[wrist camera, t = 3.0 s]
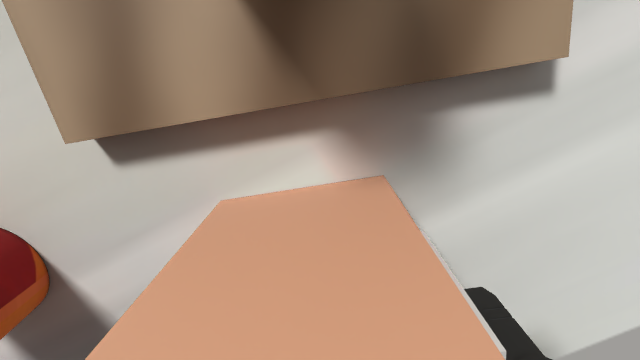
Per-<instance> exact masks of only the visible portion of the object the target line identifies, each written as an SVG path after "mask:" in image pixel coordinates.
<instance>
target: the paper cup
mask: <svg viewBox="0 0 640 360" xmlns="http://www.w3.org/2000/svg"><path fill="white" fill-rule="evenodd" d="M48 289H49V275H48V271H47V268H46V266H45V264H44V262H43V260H42V259H41V257H40V256H39V254H38V253H37V252H36V251H35V250H34V249H33V248H32V247H31V246H30V245H29V244H28V243H27V242H25V241H24V240H23V239H21V238H20V237H18V236H17V235H15V234H13V233H11V232H9V231H7V230H4V229H2V228H0V340H1V339H2V338H3V337H4V336H5V335H6V334H8V333H9V332H10V331H11V330H12V329H13V328H14V327H15V326H16V325H17V324H19V323H20V322H21V321H22V320H23V319H24V318H25V317H26V316H27V315H29V314H30V313H31V312H32V311H33V310H34V309H35V308H36V307H37V306H38V305H39V304H40V303H41V302H42V301H43V299H44V298H45V297H46V295H47V293H48Z"/></svg>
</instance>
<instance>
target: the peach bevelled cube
mask: <svg viewBox="0 0 640 360" xmlns="http://www.w3.org/2000/svg"><path fill="white" fill-rule="evenodd" d="M85 360H505V359H504V357H503V356H502V354H501V353H500V351H499V350H498V348H497V347H496V345H495V343H494V342H493V340H492V339H491V337H490V336H489V334H488V333H487V331H486V330H485V328H484V327H483V325H482V324H481V322H480V321H479V319H478V318H477V316H476V315H475V313H474V312H473V310H472V309H471V307H470V306H469V304H468V303H467V301H466V300H465V298H464V297H463V295H462V294H461V292H460V291H459V289H458V287H457V286H456V284H455V283H454V281H453V280H452V278H451V277H450V275H449V274H448V272H447V271H446V269H445V268H444V266H443V265H442V263H441V262H440V260H439V259H438V257H437V256H436V254H435V253H434V251H433V250H432V248H431V247H430V245H429V244H428V242H427V241H426V239H425V238H424V236H423V234H422V233H421V231H420V230H419V228H418V227H417V225H416V224H415V222H414V221H413V219H412V218H411V216H410V215H409V213H408V212H407V210H406V209H405V207H404V206H403V204H402V203H401V201H400V200H399V198H398V197H397V195H396V194H395V192H394V191H393V189H392V188H391V186H390V185H389V183H388V182H387V180H386V178H385V177H384V175H382V176H376V177H369V178H363V179H357V180H350V181H344V182H338V183H331V184H325V185H318V186H312V187H306V188H299V189H293V190H286V191H280V192H274V193H267V194H261V195H254V196H248V197H242V198H235V199H229V200H223V201H220V202H219V203H218V205H217V206H216V207H215V208H214V209H213V210H212V212H211V213H210V214H209V215H208V216H207V217H206V219H205V220H204V221H203V222H202V223H201V224H200V226H199V227H198V228H197V229H196V230H195V231H194V233H193V234H192V235H191V236H190V237H189V238H188V240H187V241H186V242H185V243H184V244H183V245H182V247H181V248H180V249H179V250H178V251H177V253H176V254H175V255H174V256H173V257H172V258H171V260H170V261H169V262H168V263H167V264H166V265H165V267H164V268H163V269H162V270H161V271H160V272H159V274H158V275H157V276H156V277H155V278H154V279H153V281H152V282H151V283H150V284H149V285H148V286H147V288H146V289H145V290H144V291H143V292H142V293H141V295H140V296H139V297H138V298H137V299H136V300H135V302H134V303H133V304H132V305H131V306H130V307H129V309H128V310H127V311H126V312H125V313H124V314H123V316H122V317H121V318H120V319H119V320H118V321H117V323H116V324H115V325H114V326H113V327H112V328H111V330H110V331H109V332H108V333H107V334H106V335H105V337H104V338H103V339H102V340H101V341H100V342H99V344H98V345H97V346H96V347H95V348H94V349H93V351H92V352H91V353H90V354H89V355H88V356H87V358H86V359H85Z"/></svg>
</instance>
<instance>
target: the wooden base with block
mask: <svg viewBox="0 0 640 360" xmlns="http://www.w3.org/2000/svg"><path fill="white" fill-rule="evenodd" d="M2 2H3V4H4V6H5V8H6V11H7V13H8V15H9V17H10V20H11V22H12V24H13V27H14V29H15V31H16V33H17V36H18V38H19V40H20V42H21V45H22V47H23V49H24V51H25V54H26V56H27V58H28V61H29V63H30V65H31V67H32V70H33V72H34V74H35V76H36V79H37V81H38V83H39V85H40V88H41V90H42V92H43V95H44V97H45V99H46V101H47V104H48V106H49V108H50V110H51V113H52V115H53V117H54V119H55V122H56V124H57V126H58V129H59V131H60V133H61V135H62V138H63V140H64V142H65V144H68V143H74V142H80V141H86V140H91V139H97V138H103V137H109V136H114V135H120V134H126V133H132V132H137V131H143V130H149V129H155V128H160V127H166V126H172V125H178V124H184V123H189V122H195V121H201V120H207V119H212V118H218V117H224V116H230V115H235V114H241V113H247V112H253V111H258V110H264V109H270V108H276V107H282V106H287V105H293V104H299V103H305V102H310V101H316V100H322V99H328V98H333V97H339V96H345V95H351V94H356V93H362V92H368V91H374V90H379V89H385V88H391V87H397V86H403V85H408V84H414V83H420V82H426V81H431V80H437V79H443V78H449V77H454V76H460V75H466V74H472V73H477V72H483V71H489V70H495V69H501V68H506V67H512V66H518V65H524V64H529V63H535V62H541V61H547V60H552V59H558V58H564V57H568V56H569V44H570V33H571V21H572V10H573V0H2Z"/></svg>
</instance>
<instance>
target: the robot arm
mask: <svg viewBox="0 0 640 360" xmlns="http://www.w3.org/2000/svg"><path fill="white" fill-rule="evenodd" d="M421 233H422V234H423V236H424V238H425V239H426V241H427V242H428V244H429V245H430V247H431V248H432V250H433V251H434V253H435V254H436V256H437V257H438V259H439V260H440V262H441V263H442V265H443V266H444V268H445V269H446V271H447V272H448V274H449V275H450V277H451V278H452V280H453V281H454V283H455V284H456V286H457V287H458V289H459V291H460V292H461V294H462V295H463V297H464V298H465V300H466V301H467V303H468V304H469V306H470V307H471V309H472V310H473V312H474V313H475V315H476V316H477V318H478V319H479V321H480V322H481V324H482V325H483V327H484V328H485V330H486V331H487V333H488V334H489V336H490V337H491V339H492V340H493V342H494V343H495V345H496V347H497V348H498V350H499V351H500V353H501V354H502V356H503V357H504V359H505V360H552V359H549V358H547V357H545V356H544V355H543V354H542V353H541V351H540V350H539V349H538V348H537V346H536V345H535V344H534V343H533V341H532V340H531V339H530V338H529V337H528V335H527V334H526V333H525V332H524V330H523V329H522V328H521V327H520V325H519V324H518V323H517V322H516V321H515V319H514V318H512V316H511V314H510V313H509V312H508V311H507V309H505V308H504V306H503V305H502V303H501V302H500V301H499V300H498V298H497V297H496V296H495V295H494V294H492V293H491V292H489V291H487V290H486V289H484V288H483V287H477V288H469V289H463V287H462V286H461V284H460V283H459V281H458V280H457V279H456V277H455V276H454V274H453V273H452V271H451V270H450V268H449V267H448V265H447V264H446V262H445V261H444V260H443V258H442V257H441V255H440V254H439V252H438V251H437V249H436V248H435V246H434V245H433V244H432V242H431V241H430V239H429V238H428V236H427V235H426V233H425V232H424V231H421Z"/></svg>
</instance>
